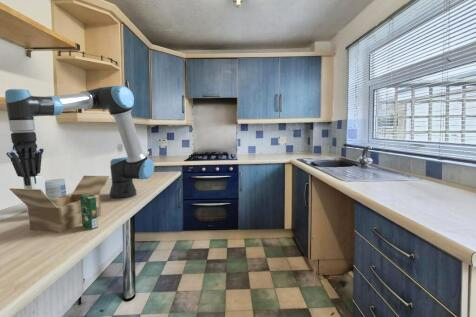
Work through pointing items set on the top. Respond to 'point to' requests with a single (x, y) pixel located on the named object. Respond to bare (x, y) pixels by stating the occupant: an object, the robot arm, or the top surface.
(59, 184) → the supplement tub
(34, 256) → the top surface
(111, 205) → the top surface
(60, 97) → the robot arm
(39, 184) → the milk
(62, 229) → the carton
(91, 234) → the top surface
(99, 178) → the flap
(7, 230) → the top surface
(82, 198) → the coffee box
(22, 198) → the flap
